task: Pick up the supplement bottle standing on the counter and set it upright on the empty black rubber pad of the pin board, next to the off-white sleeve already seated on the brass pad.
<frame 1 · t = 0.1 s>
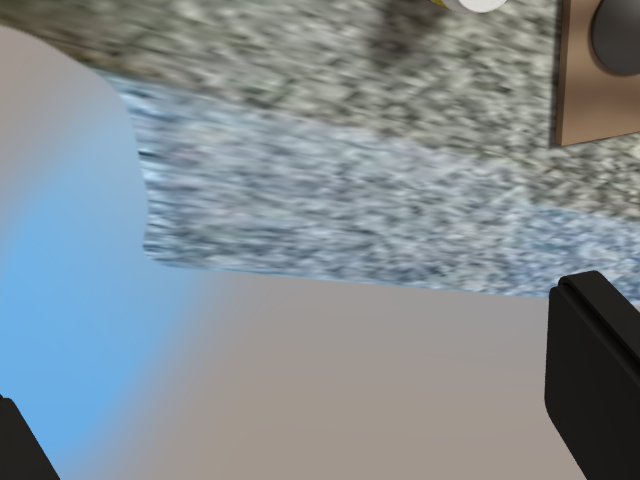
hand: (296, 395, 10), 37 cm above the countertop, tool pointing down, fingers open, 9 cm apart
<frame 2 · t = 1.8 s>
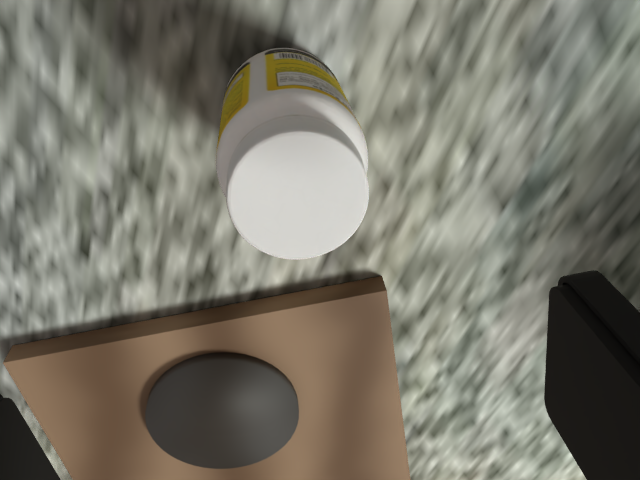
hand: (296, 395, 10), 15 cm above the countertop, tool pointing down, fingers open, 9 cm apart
pin board: (248, 459, 33), on the countertop
supplement bottle: (284, 105, 23), on the countertop
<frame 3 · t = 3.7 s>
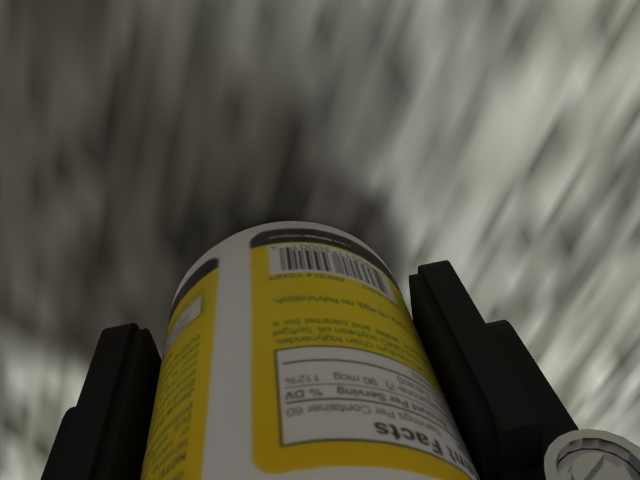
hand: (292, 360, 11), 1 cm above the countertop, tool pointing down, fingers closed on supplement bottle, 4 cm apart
supplement bottle: (287, 308, 12), on the countertop, touching gripper
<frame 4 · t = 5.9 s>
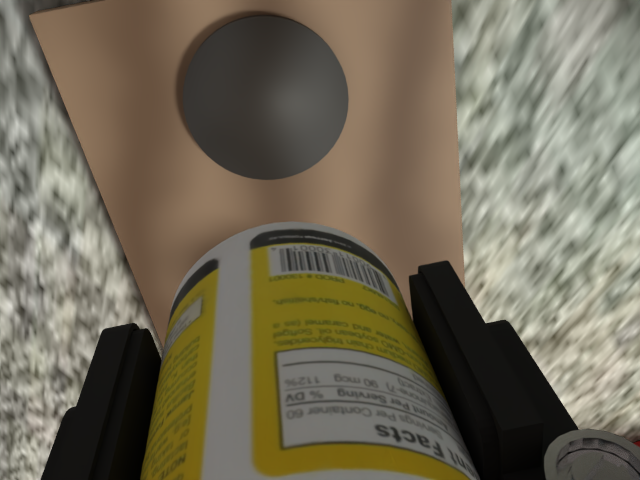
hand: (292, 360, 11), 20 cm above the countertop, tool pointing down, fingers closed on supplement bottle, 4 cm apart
pin board: (287, 193, 31), on the countertop
supplement bottle: (288, 309, 12), point 18 cm above the countertop, touching gripper
when the fingers open (4 cm above the countertop, at t = 8.1 s): supplement bottle stays where it is, resting on pin board.
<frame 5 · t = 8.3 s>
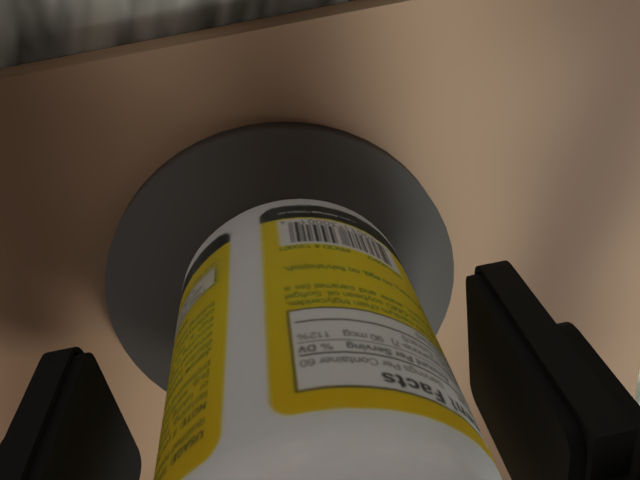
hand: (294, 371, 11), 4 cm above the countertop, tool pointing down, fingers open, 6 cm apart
pin board: (317, 412, 17), on the countertop
supplement bottle: (294, 285, 13), point 2 cm above the countertop, touching pin board
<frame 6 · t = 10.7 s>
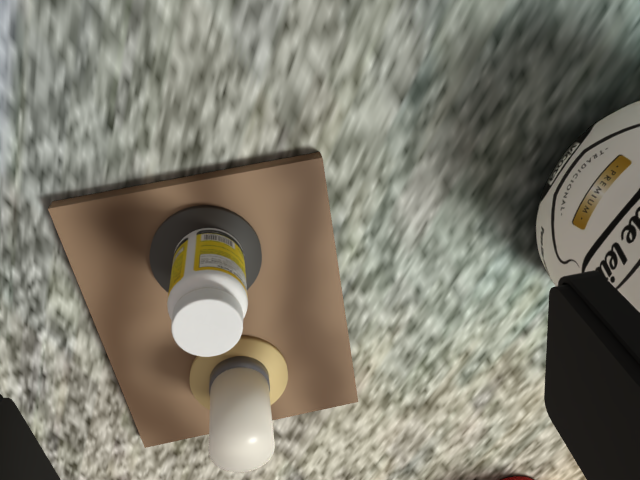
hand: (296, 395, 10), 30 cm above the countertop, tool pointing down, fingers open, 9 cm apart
milk container: (623, 193, 45), on the countertop
pin board: (224, 309, 44), on the countertop
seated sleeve: (239, 379, 45), point 2 cm above the countertop, touching pin board
supplement bottle: (209, 255, 40), point 2 cm above the countertop, touching pin board
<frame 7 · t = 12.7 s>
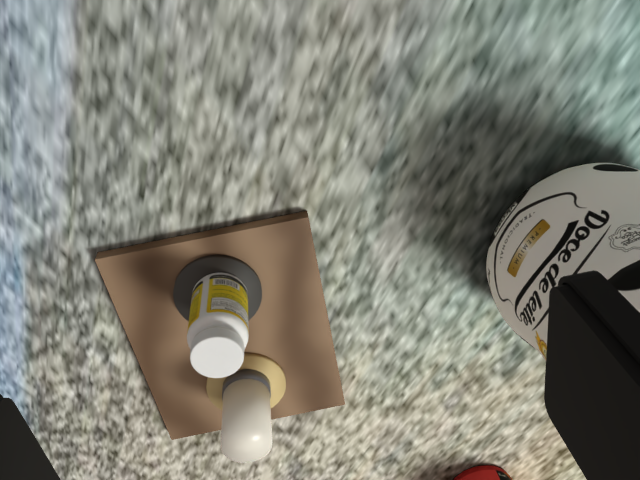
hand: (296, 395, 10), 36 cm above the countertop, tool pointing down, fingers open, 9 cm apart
milk container: (564, 236, 54), on the countertop
pin board: (233, 331, 54), on the countertop
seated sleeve: (246, 387, 56), point 2 cm above the countertop, touching pin board
supplement bottle: (220, 292, 50), point 2 cm above the countertop, touching pin board
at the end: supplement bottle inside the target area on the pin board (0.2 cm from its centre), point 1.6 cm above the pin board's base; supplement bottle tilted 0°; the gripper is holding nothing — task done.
